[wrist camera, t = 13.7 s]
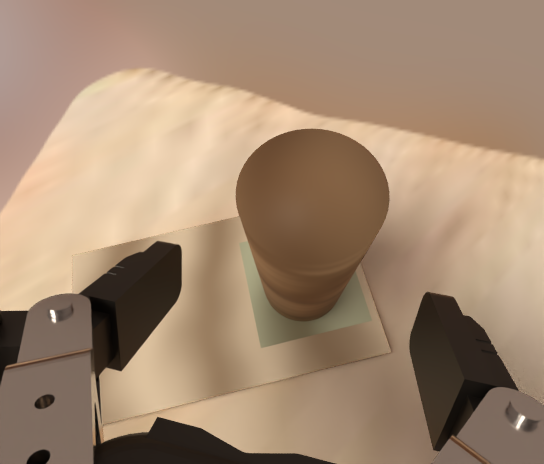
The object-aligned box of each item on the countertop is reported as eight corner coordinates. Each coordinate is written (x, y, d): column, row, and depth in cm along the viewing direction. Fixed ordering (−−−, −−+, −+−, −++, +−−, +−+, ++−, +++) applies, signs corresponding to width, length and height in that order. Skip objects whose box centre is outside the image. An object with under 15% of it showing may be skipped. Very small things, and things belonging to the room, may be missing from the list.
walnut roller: (328, 238, 24) (361, 116, 12) (351, 311, 22) (412, 243, 11) (256, 254, 23) (224, 145, 12) (272, 329, 21) (251, 279, 10)
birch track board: (335, 200, 26) (336, 193, 25) (387, 353, 22) (391, 352, 21) (80, 259, 25) (71, 255, 24) (82, 429, 21) (72, 432, 20)
